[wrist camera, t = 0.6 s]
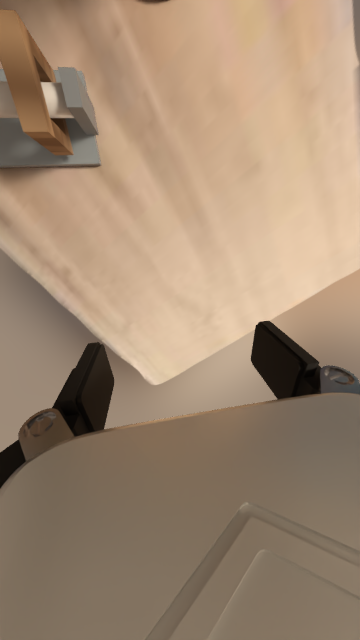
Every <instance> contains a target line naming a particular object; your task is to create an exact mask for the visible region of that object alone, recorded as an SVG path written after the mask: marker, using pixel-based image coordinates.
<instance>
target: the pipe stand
mask: <svg viewBox="0 0 360 640" xmlns="http://www.w3.org/2000/svg"><path fill="white" fill-rule="evenodd" d="M53 71H54V74H55V78H56V82H41V86H42V89H43V93H44V97H45V101H46V105H47V108H48V112H49V116H50V118H65V120H66V124H67V128H68V133H69V137H70V141H71V145H72V149H73V154H74V155H54V154H53V153H51V152H50V151H49V150H47V149H46V148H45V147H43V146H42V145H41V144H39V143H38V142H37V141H35V140H34V139H33V138H31V137H30V136H28V135H27V134H26V133H24V132H23V129H22V126H21V123H20V120H19V116H18V113H17V110H16V107H15V104H14V101H13V98H12V95H11V91H10V88H9V85H8V82H7V79H6V76H5V73H4V70H3V69H0V168H10V167H54V166H99V165H101V161H100V156H99V151H98V146H97V141H96V135H99V134H98V129H97V123H96V118H95V113H94V107H93V105H92V103H91V101H90V98H89V96H88V93H87V88H86V83H85V78H84V75H83V73H82V71H76V69H75V68H68V67H58V70H53Z"/></svg>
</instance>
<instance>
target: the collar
mask: <svg viewBox="0 0 360 640" xmlns="http://www.w3.org/2000/svg"><path fill="white" fill-rule="evenodd" d="M0 60H1V63H2V66H3V70H4V73H5V76H6V79H7V82H8V85H9V88H10V91H11V95H12V98H13V101H14V104H15V107H16V110H17V113H18V116H19V120H20V123H21V126H22V129H23V132H24V133H26V134H27V135H28V136H30V137H31V138H33V139H34V140H35V141H37V142H38V143H39V144H41V145H42V146H43V147H45V148H46V149H47V150H49V151H50V152H51V153H53V154H54V155H74V154H73V149H72V145H71V141H70V137H69V133H68V128H67V124H66V120H65V118H50V116H49V112H48V108H47V105H46V101H45V97H44V93H43V89H42V86H41V82H56V78H55V74H54V71H53V70H52V68H51V67H50V65H49V63H48V62H47V60H46V59H45V57H44V56H43V54H42V52H41V51H40V49H39V48H38V46H37V44H36V43H35V41H34V40H33V38H32V36H31V35H30V33H29V32H28V30H27V29H26V27H25V25H24V24H23V22H22V21H21V19H20V17H19V16H18V14H17V13H16V11H15V10H0Z"/></svg>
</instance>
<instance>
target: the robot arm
mask: <svg viewBox="0 0 360 640" xmlns="http://www.w3.org/2000/svg"><path fill="white" fill-rule="evenodd" d="M251 361H252V363H253V365H254V367H255V368H256V370H257V371H258V372H259V374H260V375H261V376H262V378H263V379H264V381H265V382H266V383H267V385H268V386H269V388H270V389H271V390H272V392H273V393H274V395H275V396H276V397H277V399H278V400H272V401H266V402H259V403H253V404H247V405H241V406H235V407H229V408H223V409H217V410H212V411H205V412H199V413H194V414H188V415H182V416H176V417H170V418H164V419H159V420H153V421H147V422H142V423H136V424H130V425H126V426H121V427H115V428H110V429H104V426H105V422H106V418H107V413H108V409H109V404H110V400H111V395H112V391H113V387H114V377H113V374H112V371H111V367H110V364H109V361H108V358H107V354H106V351H105V348H104V345H103V344H101V345H100V343H99V342H97V343H90V344H88V345H87V346H86V348H85V350H84V352H83V354H82V356H81V358H80V360H79V362H78V364H77V366H76V368H74V369H73V370H72V372H71V374H70V375H69V377H68V379H67V381H66V383H65V385H64V387H63V389H62V390H61V392H60V394H59V396H58V398H57V400H56V402H55V403H54V406H53V407H52V408H49V409H45V410H42V411H40V412H38V413H36V414H34V415H33V416H31V417H30V418H29V419H28V420H27V421H26V422H25V423H24V424H23V425H22V427H21V428H20V431H19V433H18V436H19V440H17V441H16V442H14V443H13V444H12V445H10V446H9V447H7V448H6V449H5V450H3V451H2V452H0V640H360V383H359V380H358V378H357V377H356V376H355V375H354V374H353V373H351V372H350V371H347V370H346V369H344V368H341V367H337V366H333V365H331V366H330V365H327V366H323V367H322V368H321V367H320V366H319V365H318V364H319V362H318V361H317V360H316V359H315V358H314V357H312V356H311V355H310V354H309V353H308V352H306V351H305V350H304V349H303V348H302V347H300V346H299V345H298V344H297V343H295V342H294V341H293V340H292V339H291V338H289V337H288V336H287V335H286V334H285V333H283V332H282V331H281V330H280V329H278V328H277V327H276V326H275V325H274V324H273V323H271V322H270V321H263V322H259V323H258V324H257V325H256V327H255V334H254V341H253V348H252V355H251Z"/></svg>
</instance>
